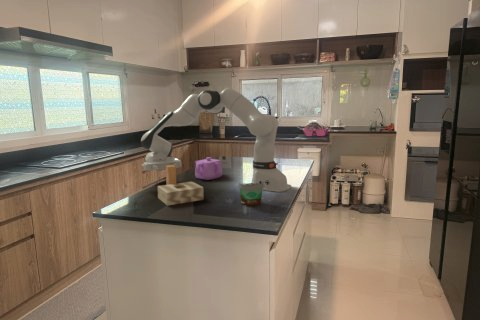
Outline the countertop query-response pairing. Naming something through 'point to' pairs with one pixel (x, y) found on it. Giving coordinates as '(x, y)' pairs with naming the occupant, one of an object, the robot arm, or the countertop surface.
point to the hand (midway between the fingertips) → (167, 167)
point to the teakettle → (208, 169)
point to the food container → (251, 193)
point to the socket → (180, 193)
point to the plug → (170, 174)
